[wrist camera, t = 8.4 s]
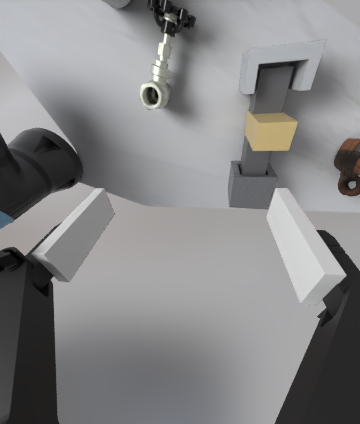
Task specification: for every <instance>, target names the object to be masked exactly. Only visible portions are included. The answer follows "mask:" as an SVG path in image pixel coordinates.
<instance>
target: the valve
mask: <svg viewBox="0 0 360 424" xmlns="http://www.w3.org/2000/svg"><path fill="white" fill-rule="evenodd" d="M147 8H148V9H149V10H151V11H153V8H154V19H155V22H156V23H157V25H158V26H159V27H161V32H162V33H164V37H163V43H161V42H159V48H158V54H159V55H160V57H159V60H156V65H155V64H152V67H151V72H152V73H153V75H152V79H151V80H150V81H149V82H147V84H144V85H142V86H141V92H140V100H141V102H142V103H143V104H144V106H145V107H146V108H147V109H148V110H151V109H161V108H163V107H164V106H165V105H166V104H167V103H168V102H169V98H170V93H171V89H170V88H169V87H168V85H167V84H166V81H167V79H169V77H170V73H171V71H170V70H168V64H167V58H168V59H170V54H171V49H172V48H171V47H170V46H169V44H170V39H171V37H173V38H174V37H175V34H178V33H179V32H180V31H181V30H182V27H183V24H184V27H185V28H187V29H190V28H192V29H193V28H194V25H195V21H196V18H195V17H194V16H192V15H188V11H187V10H186V9H184V8H180V9H179V8H177V7H175V6H173V5H172V2H171V1H169V0H163V1H161V0H148V4H147ZM159 16H160V17H162V18H163V21H160V20H159ZM155 89H156V91H157V92H158V96H159V100H158V99H157V98H156V97H155Z"/></svg>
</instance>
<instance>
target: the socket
mask: <svg viewBox="0 0 360 424" xmlns="http://www.w3.org/2000/svg"><path fill="white" fill-rule="evenodd" d="M326 41H327V40H319V41H310V42H301V43H292V44H282V45H273V46H264V47H255V48H250V49H249V50H247V51H246V52H245V53H243V56H242V64H241V73H240V81H239V91H240V92H242V93H243V94H254V89H255V83H256V77H257V71H258V69H268V68H279V67H290V66H294V68H293V71H292V75H291V79H290V83H289V86H288V88H289V89H294V90H298V91H303V90H310V89H311V86H312V83H313V80H314V77H315V74H316V71H317V68H318V65H319V62H320V59H321V56H322V53H323V50H324V47H325V44H326Z"/></svg>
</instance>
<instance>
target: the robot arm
mask: <svg viewBox="0 0 360 424" xmlns="http://www.w3.org/2000/svg"><path fill="white" fill-rule="evenodd" d="M82 172H83V171H82V165H81V162H80V160H79V157H78V156H77V154H76V152H75V151H74V150H73V148H72V147H71V146H70V145H69V144H68V143H67V142H66V141H65V140H64V139H62V138H61V137H60V136H58V135H57V134H55V133H53V132H51V131H49V130H46V129H43V128H32V129H29V130H26V131H23V132H22V133H20V134H19V135H18V136H17V137H16V138H15V139H14V140H13V141H12V142H11V143H10V144H9V145H7V144H6V143H5V141H4V139H3V137H2V135H1V133H0V229H1V228H3V227H4V226H6V225H8V224H9V223H12V222H13V221H14V220H15V219H17V218H18V217H19V216H21V215H22V214H23V213H25V212H26V211H27V210H28V209H30V208H31V207H33V206H34V205H35V204H37V203H38V202H39V201H41V200H42V199H43V198H45V197H46V196H48V195H49V194H51V193H54V192H58V191H61V190H65V189H68V188H71V187H73V186H74V185H75V184H77V183H78V182H79V181H80V180H81V178H82ZM114 215H115V213H114V211H113V208H112V206H111V204H110V201H109V199H108V197H107V194H106V192H105V189H104V188H95V189H94V191H93V192H92V193H91V194H90V195H89V196H88V197H87V198H86V199H85V200H84V201H83V202H82V203H81V204H80V205H79V206H78V207H77V208H76V209H75V210H74V211H73V212H72V213H71V214H70V215H69V216H68V217H67V218H66V219H65V220H64V221H63V222H61V223H60V224H58V225H57V226H55V227H54V228H53V229H52V230H51V231H50V232H49V234H47V235H46V236H45V237H44V239H42V240H41V241H40V242H39V243H38V244H37V245H36V246H35V247H34V248H33V249H32V250H31V251H30V252H29V253H28V254H27V255H26V256H24V255H23V254H22V253H21V252H20V251H19V250H18V249H17V248H15V247H9V248H5V249H3V250H1V251H0V424H59V422H58V417H57V393H56V363H55V335H54V334H55V332H54V307H53V306H54V305H53V304H54V303H53V283H52V281H51V279H52V277H53V276H54V277H55V278H56V279H57V280H58V281H64V282H70V281H71V279H72V278H73V276H74V275H75V273H76V272H77V270H78V269H79V267H80V266H81V264H82V263H83V261H84V260H85V258H86V257H87V255H88V254H89V252H90V251H91V249H92V248H93V246H94V245H95V243H96V242H97V240H98V239H99V237H100V236H101V234H102V233H103V231H104V230H105V228H106V226H107V225H108V224H109V222H110V220H111V219H112V217H113V216H114ZM267 220H268V223H269V225H270V228H271V231H272V233H273V236H274V238H275V241H276V243H277V246H278V249H279V251H280V254H281V256H282V258H283V261H284V264H285V266H286V268H287V271H288V274H289V276H290V279H291V281H292V284H293V286H294V289H295V291H296V294H297V297H298V299H299V301H300V304H308V305H318V304H319V303H320V302H321V301H322V300H323V301H324V303H325V305H326V307H327V308H326V309H325V310H324V311H322V312H321V313H320V314H319V315H318V316H317V317H318V318H320V321H319V323H318V325H317V328H316V330H315V332H314V334H313V337H312V339H311V342H310V344H309V346H308V348H307V351H306V353H305V356H304V357H303V360H302V362H301V364H300V367H299V369H298V371H297V374H296V376H295V378H294V380H293V383H292V385H291V387H290V390H289V392H288V394H287V396H286V399H285V401H284V404H283V406H282V408H281V410H280V413H279V415H278V417H277V419H276V422H275V424H360V271H359V269H358V268H357V267H356V265H355V264H354V263H353V262H352V260H351V259H350V258H349V256H348V255H347V254H345V251H344V250H343V248H342V247H340V244H339V243H338V242H337V240H336V239H335V238H334V237H333V236H332V235H330V234H329V233H327V232H326V231H325V230H316V229H315V228H314V227H313V225H312V223H311V222H310V221H309V219H308V218H307V216H306V215H305V213H304V212H303V210H302V209H301V207H300V206H299V204H298V203H297V201H296V200H295V198H294V197H293V195H292V194H291V193H290V191H289V190H288V188H276V189H275V192H274V195H273V198H272V201H271V204H270V208H269V211H268V214H267Z"/></svg>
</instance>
